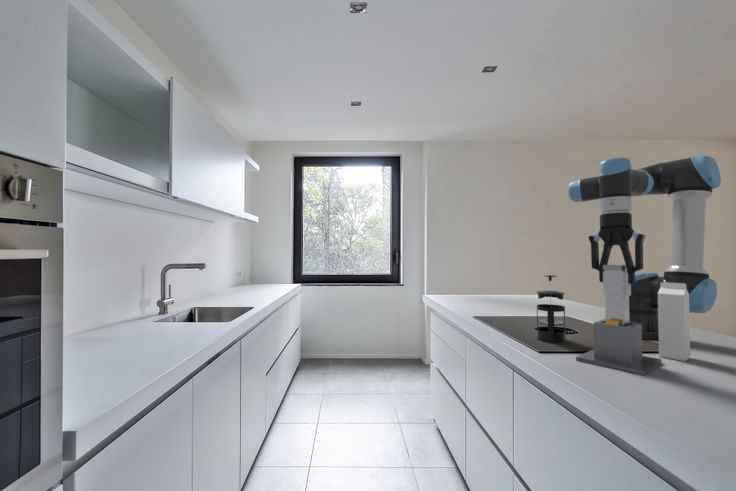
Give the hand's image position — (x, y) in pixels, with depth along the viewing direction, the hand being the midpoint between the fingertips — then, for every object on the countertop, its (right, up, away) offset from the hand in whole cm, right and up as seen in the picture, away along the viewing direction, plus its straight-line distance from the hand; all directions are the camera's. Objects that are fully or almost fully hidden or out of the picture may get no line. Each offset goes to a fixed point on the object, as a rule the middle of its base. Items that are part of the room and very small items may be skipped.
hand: (616, 294), depth 101 cm
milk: (+20, -19, +4) cm, 28 cm away
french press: (-6, -20, +26) cm, 33 cm away
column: (0, -12, 0) cm, 12 cm away
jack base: (0, -19, 0) cm, 19 cm away
